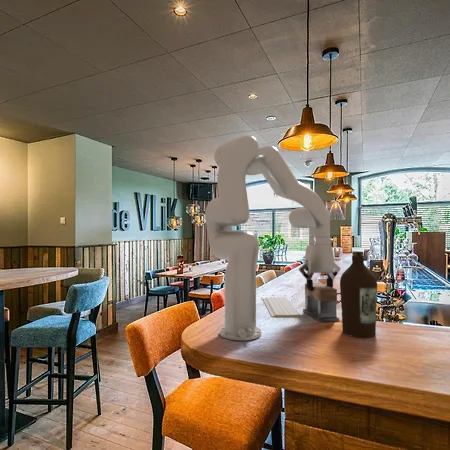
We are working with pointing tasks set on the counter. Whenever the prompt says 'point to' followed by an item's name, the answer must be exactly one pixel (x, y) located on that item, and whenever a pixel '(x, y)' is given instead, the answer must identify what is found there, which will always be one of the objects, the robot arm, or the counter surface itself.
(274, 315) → the baseboard molding
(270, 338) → the counter surface
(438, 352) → the counter surface
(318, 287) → the shelf board
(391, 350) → the counter surface
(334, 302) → the grey flat-based fixture
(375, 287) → the olive oil
